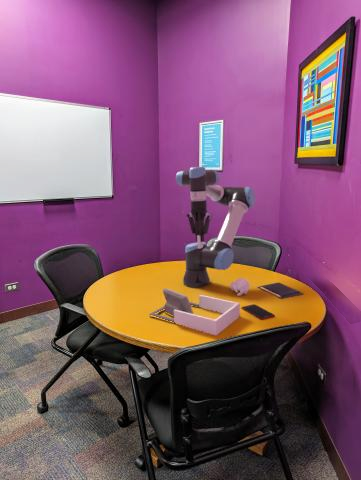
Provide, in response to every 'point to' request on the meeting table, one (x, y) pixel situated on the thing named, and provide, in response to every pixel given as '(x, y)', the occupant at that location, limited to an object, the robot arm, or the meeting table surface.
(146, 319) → the meeting table surface
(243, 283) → the pale pink lumpy piece
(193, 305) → the frame
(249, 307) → the cell phone
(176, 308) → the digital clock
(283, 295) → the wallet
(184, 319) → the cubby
